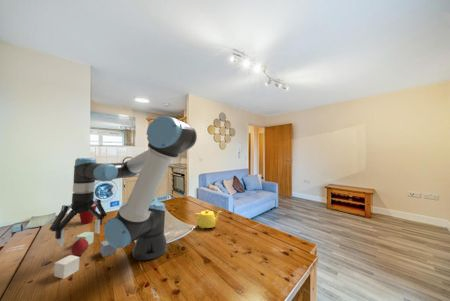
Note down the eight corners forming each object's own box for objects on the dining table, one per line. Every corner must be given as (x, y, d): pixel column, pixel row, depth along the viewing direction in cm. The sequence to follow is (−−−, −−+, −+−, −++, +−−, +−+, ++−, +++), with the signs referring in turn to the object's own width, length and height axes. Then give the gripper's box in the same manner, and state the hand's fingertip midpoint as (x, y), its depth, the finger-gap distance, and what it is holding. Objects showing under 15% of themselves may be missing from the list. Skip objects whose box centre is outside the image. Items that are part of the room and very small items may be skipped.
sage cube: (93, 242, 86) (93, 232, 86) (85, 247, 81) (85, 236, 81) (83, 241, 86) (84, 232, 86) (75, 247, 81) (75, 236, 81)
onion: (77, 260, 71) (78, 241, 71) (67, 258, 72) (68, 239, 72) (91, 252, 76) (92, 235, 77) (81, 250, 78) (82, 233, 78)
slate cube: (116, 252, 77) (116, 241, 77) (103, 257, 73) (103, 246, 73) (112, 248, 80) (113, 238, 80) (100, 253, 76) (100, 242, 77)
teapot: (220, 223, 115) (221, 207, 115) (221, 230, 104) (222, 213, 104) (194, 223, 113) (195, 207, 114) (193, 230, 102) (193, 213, 103)
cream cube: (78, 270, 65) (79, 257, 65) (63, 279, 60) (64, 265, 60) (69, 267, 66) (70, 254, 66) (53, 276, 61) (54, 262, 62)
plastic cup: (86, 219, 115) (88, 201, 116) (100, 220, 114) (102, 202, 115) (70, 225, 105) (72, 206, 105) (86, 226, 103) (87, 207, 104)
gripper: (107, 186, 88) (104, 226, 87) (41, 195, 66) (36, 250, 65) (116, 188, 85) (113, 229, 84) (49, 198, 62) (45, 255, 62)
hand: (80, 238), depth 75 cm, fingers open, 13 cm apart
